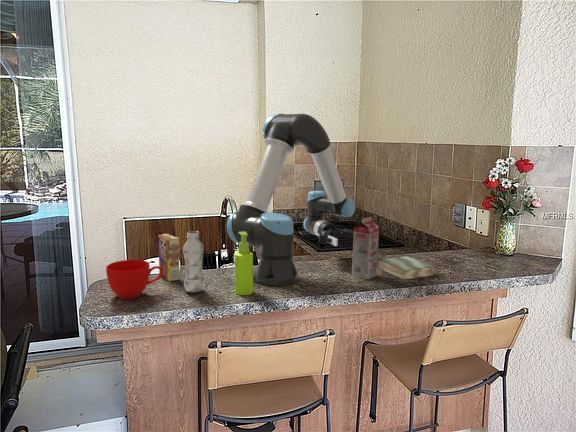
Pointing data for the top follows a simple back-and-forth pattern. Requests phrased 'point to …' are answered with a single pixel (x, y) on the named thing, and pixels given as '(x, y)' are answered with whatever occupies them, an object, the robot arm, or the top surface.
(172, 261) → the candy box
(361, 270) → the juice carton
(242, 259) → the soap dispenser
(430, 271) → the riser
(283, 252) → the robot arm
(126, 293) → the ceramic cup
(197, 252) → the plastic bottle
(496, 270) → the top surface
